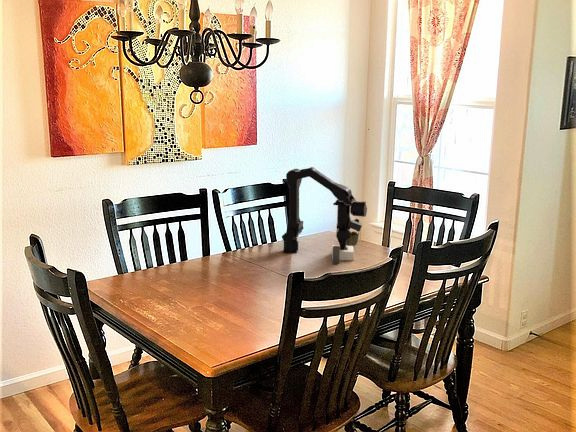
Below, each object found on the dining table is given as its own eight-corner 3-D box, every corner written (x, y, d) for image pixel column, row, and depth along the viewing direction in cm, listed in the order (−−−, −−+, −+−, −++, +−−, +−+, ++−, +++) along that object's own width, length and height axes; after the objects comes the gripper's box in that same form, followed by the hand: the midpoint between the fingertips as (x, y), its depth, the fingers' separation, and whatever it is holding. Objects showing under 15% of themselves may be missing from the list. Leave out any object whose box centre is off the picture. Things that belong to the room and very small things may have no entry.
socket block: (331, 259, 271) (331, 251, 270) (332, 253, 281) (332, 245, 280) (353, 260, 270) (353, 251, 269) (353, 254, 280) (353, 245, 279)
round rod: (332, 264, 264) (332, 247, 262) (332, 262, 267) (333, 245, 265) (339, 264, 263) (339, 247, 262) (339, 262, 266) (339, 245, 265)
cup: (340, 247, 290) (340, 231, 289) (353, 245, 294) (353, 230, 292) (348, 251, 284) (348, 235, 282) (361, 249, 287) (361, 233, 285)
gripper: (362, 220, 261) (360, 253, 265) (360, 210, 279) (359, 242, 283) (336, 219, 262) (335, 253, 266) (336, 210, 280) (336, 242, 284)
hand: (342, 247), depth 274 cm, fingers open, 7 cm apart
